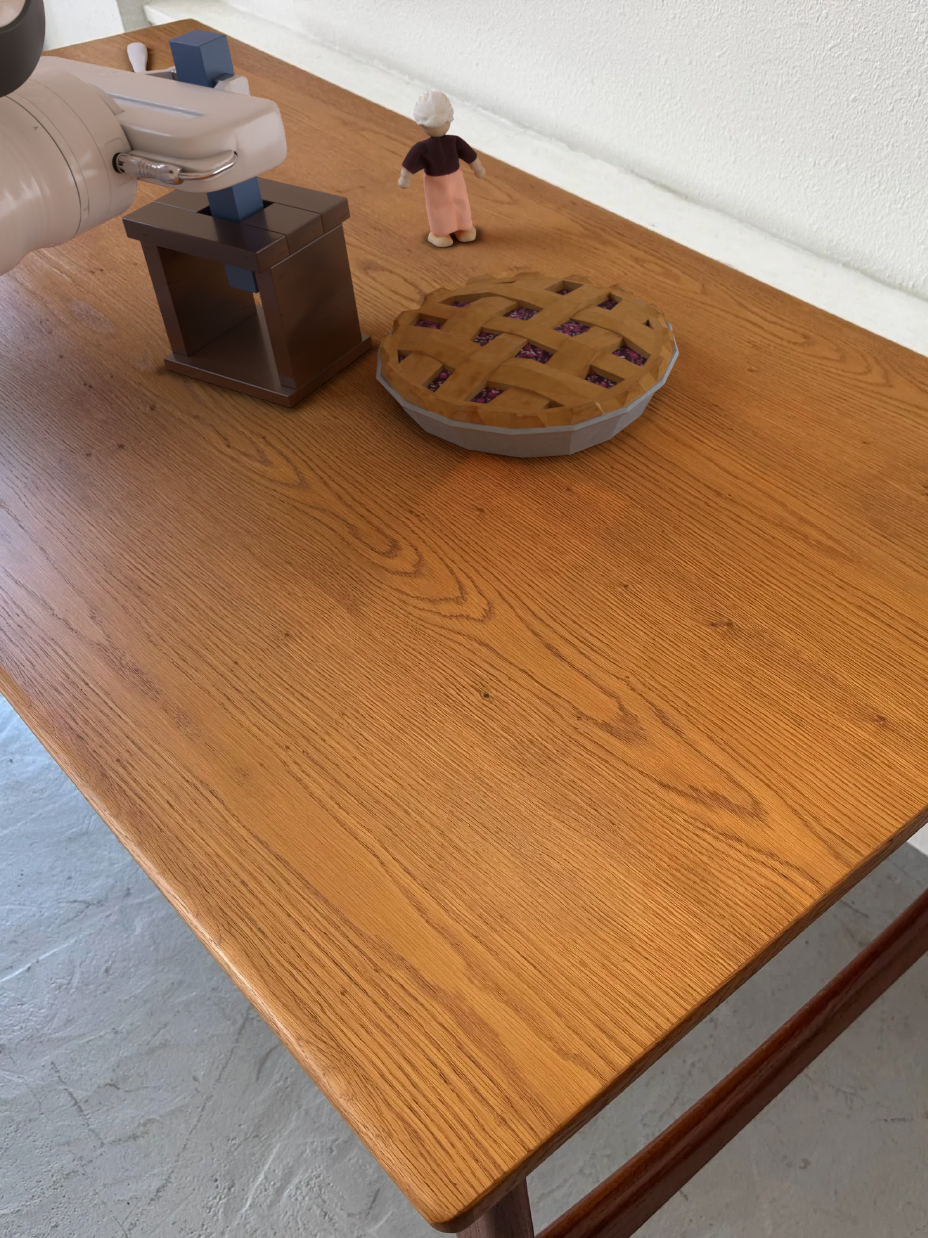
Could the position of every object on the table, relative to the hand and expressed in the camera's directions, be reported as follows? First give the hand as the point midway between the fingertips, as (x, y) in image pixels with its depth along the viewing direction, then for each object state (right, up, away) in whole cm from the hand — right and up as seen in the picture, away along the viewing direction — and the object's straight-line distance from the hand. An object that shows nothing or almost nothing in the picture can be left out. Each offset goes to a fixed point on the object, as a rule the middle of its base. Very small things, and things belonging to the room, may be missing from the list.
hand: (217, 81), depth 83 cm
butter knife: (-28, +26, +58) cm, 69 cm away
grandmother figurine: (+11, -1, +29) cm, 31 cm away
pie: (+20, -18, +10) cm, 29 cm away
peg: (0, -11, +9) cm, 14 cm away
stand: (-1, -15, +13) cm, 20 cm away
